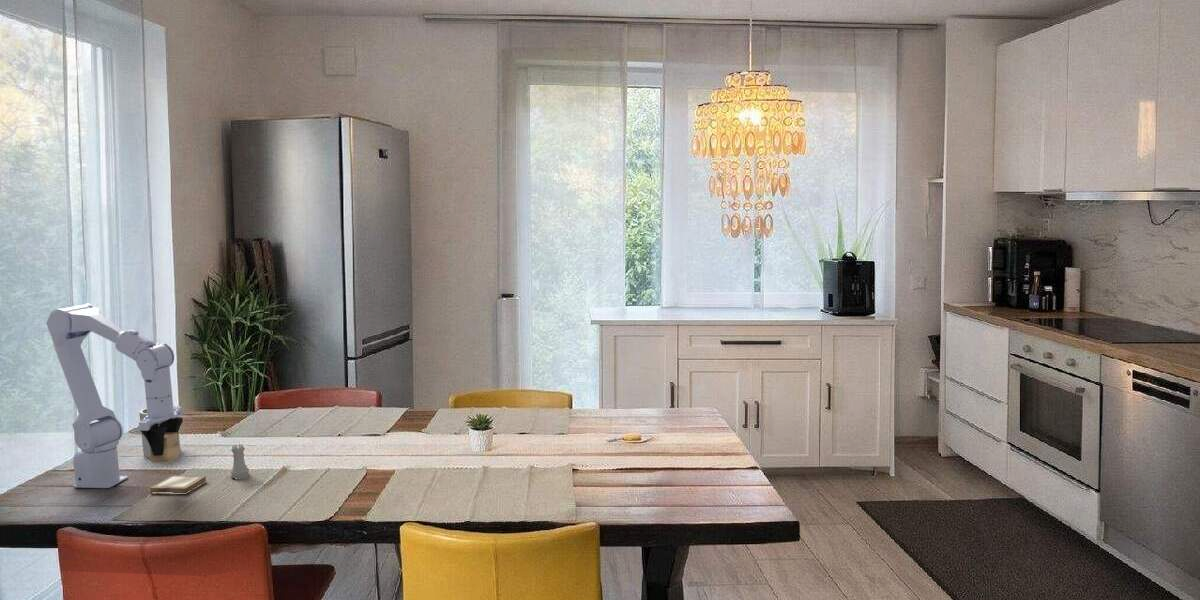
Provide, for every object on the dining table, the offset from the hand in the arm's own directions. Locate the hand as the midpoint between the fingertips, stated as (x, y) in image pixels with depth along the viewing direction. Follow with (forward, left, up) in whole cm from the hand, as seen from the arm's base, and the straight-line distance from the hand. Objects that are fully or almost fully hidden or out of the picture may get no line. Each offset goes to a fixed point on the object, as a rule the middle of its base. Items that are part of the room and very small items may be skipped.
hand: (164, 451), depth 240 cm
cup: (-19, +29, -10) cm, 36 cm away
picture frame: (+2, +2, -10) cm, 10 cm away
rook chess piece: (+13, +11, -10) cm, 19 cm away
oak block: (0, 0, -2) cm, 2 cm away
